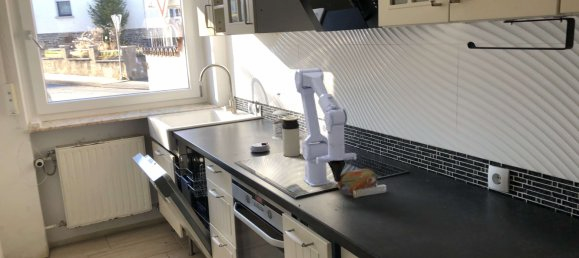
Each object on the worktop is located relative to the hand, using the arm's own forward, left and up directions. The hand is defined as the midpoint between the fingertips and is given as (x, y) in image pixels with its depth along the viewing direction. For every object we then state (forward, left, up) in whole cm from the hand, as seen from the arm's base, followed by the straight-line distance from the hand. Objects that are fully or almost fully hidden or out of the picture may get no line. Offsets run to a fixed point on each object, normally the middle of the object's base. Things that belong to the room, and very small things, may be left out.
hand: (336, 180), depth 170 cm
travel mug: (-62, +4, -6) cm, 62 cm away
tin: (0, +8, -6) cm, 10 cm away
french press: (-102, +12, -6) cm, 103 cm away
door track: (0, +11, -5) cm, 12 cm away
